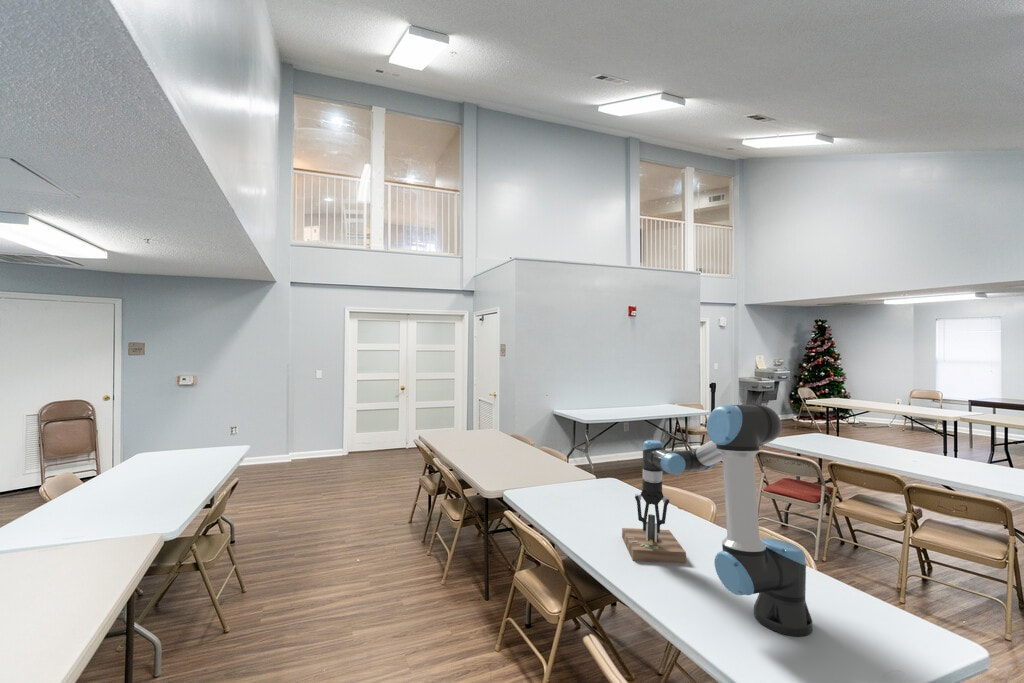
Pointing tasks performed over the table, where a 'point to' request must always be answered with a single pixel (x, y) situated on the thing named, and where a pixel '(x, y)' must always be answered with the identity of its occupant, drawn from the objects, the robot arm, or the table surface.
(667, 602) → the table surface
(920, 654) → the table surface
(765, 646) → the table surface
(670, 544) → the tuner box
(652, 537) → the dark grey lever
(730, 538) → the robot arm
